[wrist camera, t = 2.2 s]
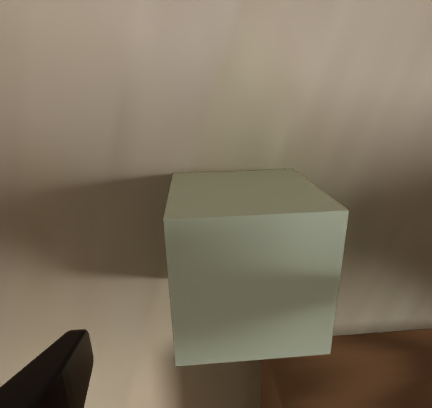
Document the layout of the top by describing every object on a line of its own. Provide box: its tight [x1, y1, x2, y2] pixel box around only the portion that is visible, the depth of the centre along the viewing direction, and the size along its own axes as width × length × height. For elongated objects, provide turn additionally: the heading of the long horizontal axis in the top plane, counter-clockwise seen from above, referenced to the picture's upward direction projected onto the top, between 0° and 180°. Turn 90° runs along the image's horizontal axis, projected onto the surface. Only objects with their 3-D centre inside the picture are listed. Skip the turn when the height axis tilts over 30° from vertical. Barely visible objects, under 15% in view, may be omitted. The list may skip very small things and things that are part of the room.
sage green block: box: [163, 169, 349, 366], centre depth 11 cm, size 5×5×5 cm
